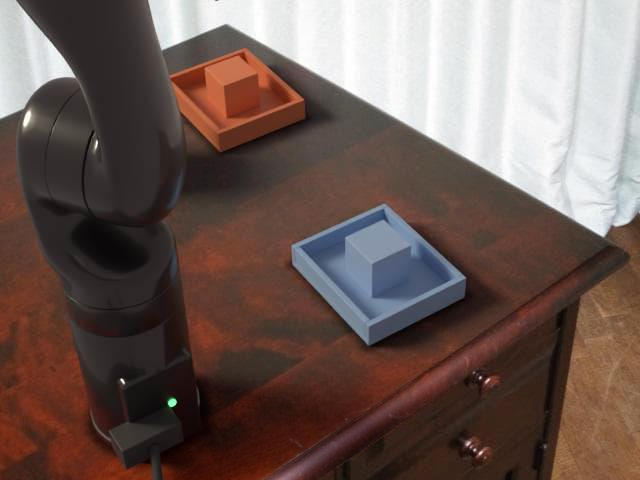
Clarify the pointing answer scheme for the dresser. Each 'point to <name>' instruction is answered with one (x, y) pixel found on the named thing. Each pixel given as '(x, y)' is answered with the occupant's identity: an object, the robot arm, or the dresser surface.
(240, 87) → the clay block
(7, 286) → the dresser surface
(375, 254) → the blue block
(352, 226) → the blue tray
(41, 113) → the robot arm
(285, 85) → the clay tray
